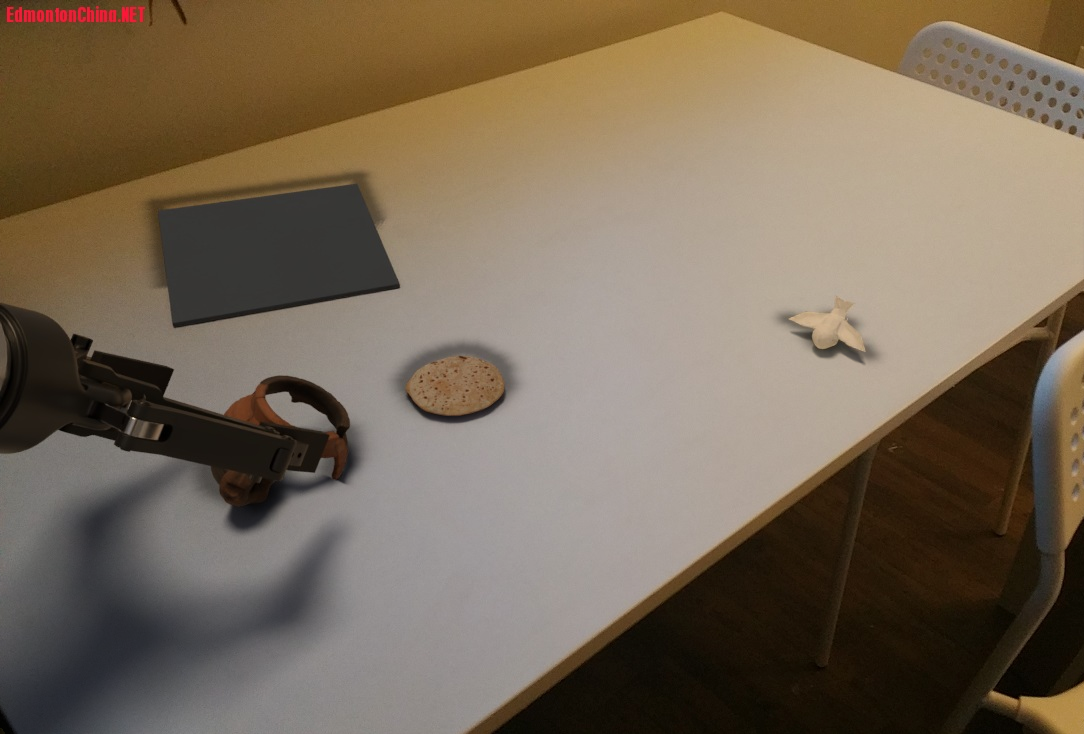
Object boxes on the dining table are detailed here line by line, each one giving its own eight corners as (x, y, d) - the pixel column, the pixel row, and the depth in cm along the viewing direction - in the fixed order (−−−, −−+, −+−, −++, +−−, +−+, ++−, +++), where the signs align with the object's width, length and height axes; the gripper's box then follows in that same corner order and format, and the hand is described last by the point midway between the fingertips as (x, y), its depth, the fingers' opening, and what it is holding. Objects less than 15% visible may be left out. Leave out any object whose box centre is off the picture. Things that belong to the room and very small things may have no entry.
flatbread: (492, 355, 87) (492, 346, 87) (513, 410, 82) (513, 401, 81) (399, 370, 85) (398, 361, 84) (414, 428, 80) (413, 419, 79)
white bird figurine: (776, 335, 92) (792, 288, 90) (794, 327, 96) (810, 282, 94) (854, 369, 89) (872, 321, 87) (869, 359, 93) (887, 314, 91)
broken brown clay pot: (225, 431, 78) (265, 350, 76) (334, 484, 81) (377, 407, 78) (157, 514, 68) (201, 423, 65) (286, 573, 70) (334, 488, 67)
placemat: (158, 214, 101) (157, 210, 100) (357, 187, 108) (357, 183, 108) (173, 327, 87) (172, 323, 87) (400, 287, 94) (399, 283, 94)
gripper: (-245, 361, 51) (83, 408, 71) (118, 541, 44) (366, 536, 64) (-186, 226, 51) (123, 311, 72) (182, 383, 44) (409, 428, 65)
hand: (238, 417), depth 68 cm, fingers open, 13 cm apart
